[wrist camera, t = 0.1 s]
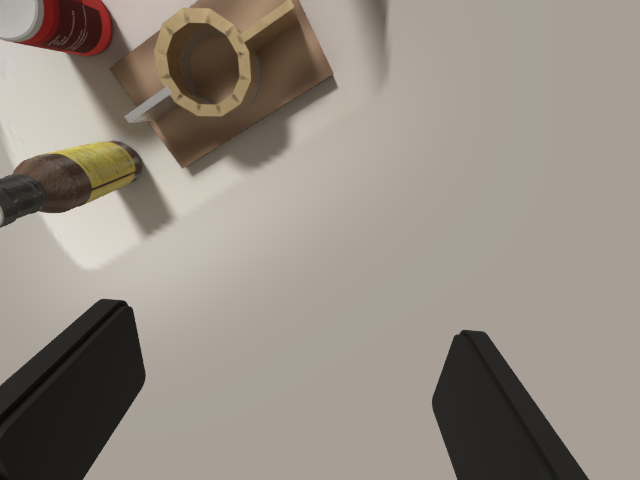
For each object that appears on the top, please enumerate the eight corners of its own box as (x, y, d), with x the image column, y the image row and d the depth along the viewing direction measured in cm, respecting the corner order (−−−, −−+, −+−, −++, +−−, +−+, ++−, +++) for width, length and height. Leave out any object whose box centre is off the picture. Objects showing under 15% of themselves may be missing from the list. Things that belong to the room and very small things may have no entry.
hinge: (127, 80, 38) (93, 76, 33) (274, -29, 33) (264, -56, 28) (178, 151, 42) (155, 159, 36) (318, 61, 37) (317, 54, 31)
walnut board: (116, 69, 39) (109, 68, 38) (274, -50, 34) (272, -57, 32) (186, 166, 44) (182, 168, 42) (333, 74, 39) (333, 73, 37)
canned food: (36, -19, 35) (-78, -67, 25) (104, -20, 35) (16, -69, 25) (60, 57, 38) (-33, 41, 28) (122, 57, 38) (50, 40, 28)
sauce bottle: (101, 132, 42) (-69, 154, 24) (146, 149, 43) (16, 183, 25) (97, 175, 45) (-60, 224, 26) (140, 190, 45) (17, 249, 27)
